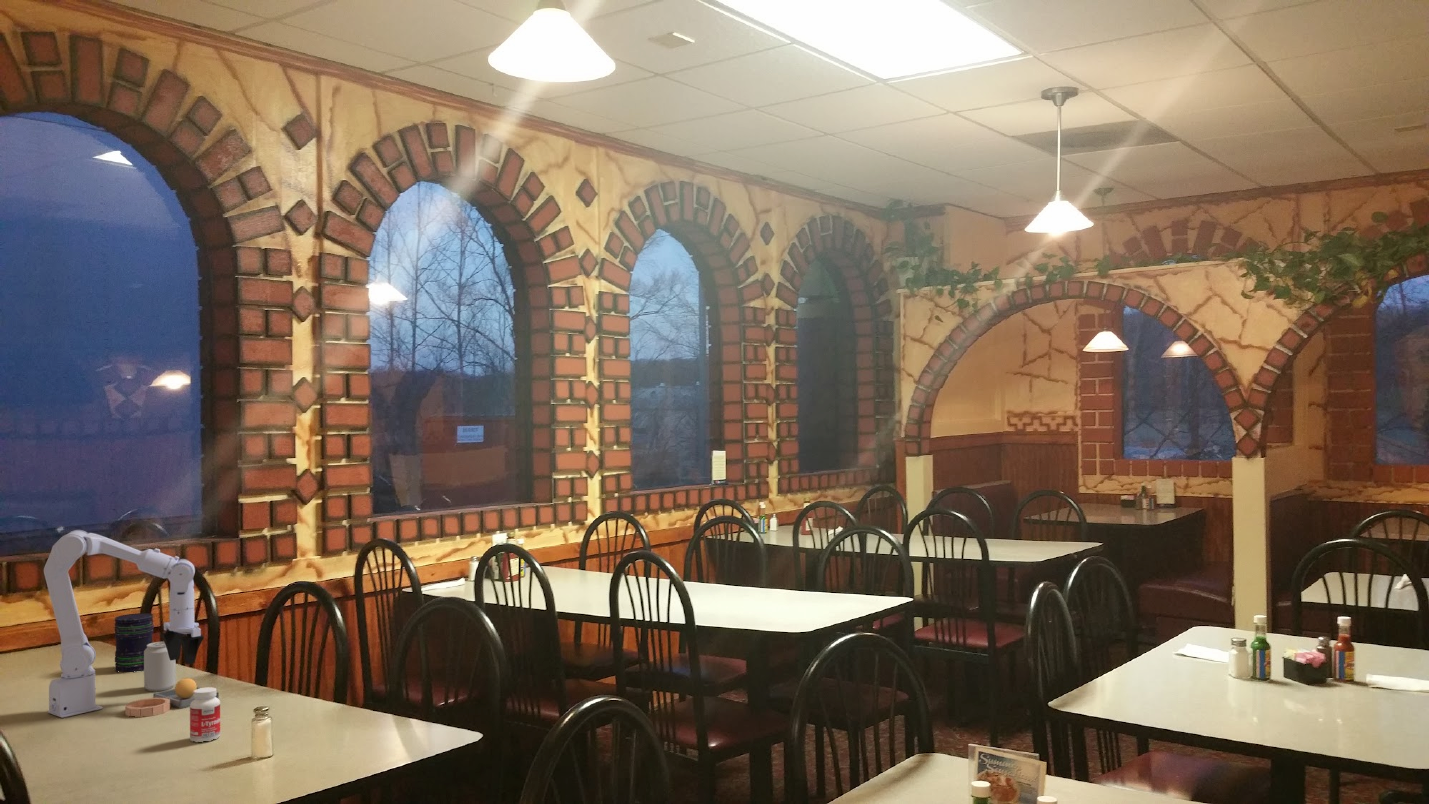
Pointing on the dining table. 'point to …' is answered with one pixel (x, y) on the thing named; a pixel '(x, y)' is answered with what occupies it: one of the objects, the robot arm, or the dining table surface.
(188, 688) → the ball
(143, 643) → the storage jar
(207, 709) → the pill bottle
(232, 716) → the dining table surface
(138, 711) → the dish
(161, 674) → the can
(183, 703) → the tray
